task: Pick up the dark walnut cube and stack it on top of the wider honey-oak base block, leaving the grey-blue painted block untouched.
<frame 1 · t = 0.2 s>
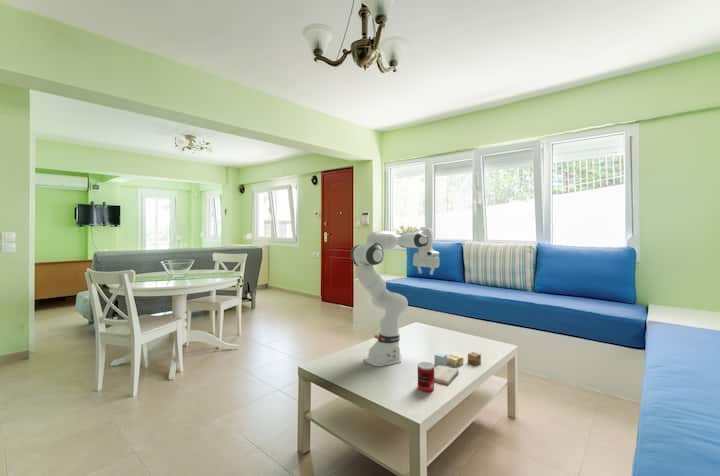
hand: (425, 273, 206), 48 cm above the table, fingers open, 8 cm apart
oak base block: (454, 363, 180), on the table
grey-blue block: (440, 365, 177), on the table
walnut block: (474, 362, 181), on the table
canned food: (425, 388, 150), on the table
washcloth: (443, 377, 163), on the table
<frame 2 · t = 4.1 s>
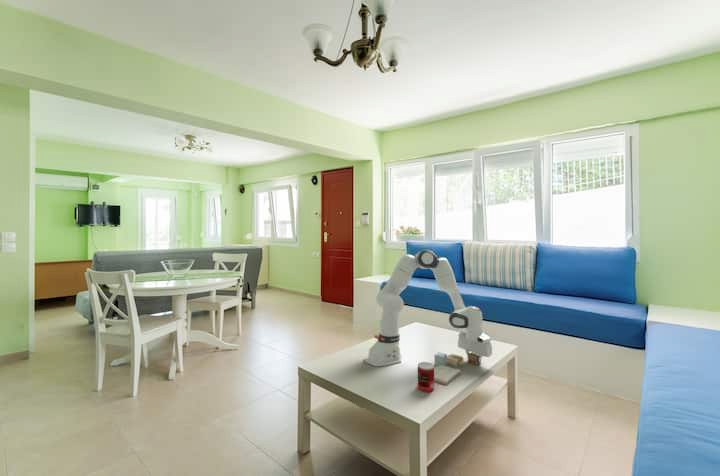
hand: (474, 359, 181), 2 cm above the table, fingers closed on walnut block, 5 cm apart
walnut block: (474, 362, 181), on the table, touching gripper
when the fingers open (7 cm above the table, at t = 8.9 s): walnut block drops 2 cm, resting on oak base block.
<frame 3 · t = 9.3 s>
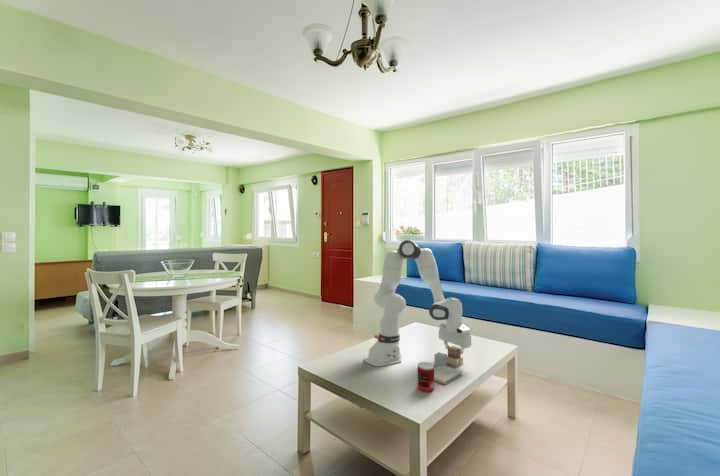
hand: (454, 351, 180), 7 cm above the table, fingers open, 8 cm apart
oak base block: (454, 363, 180), on the table, touching walnut block
walnut block: (454, 356, 180), point 4 cm above the table, touching oak base block
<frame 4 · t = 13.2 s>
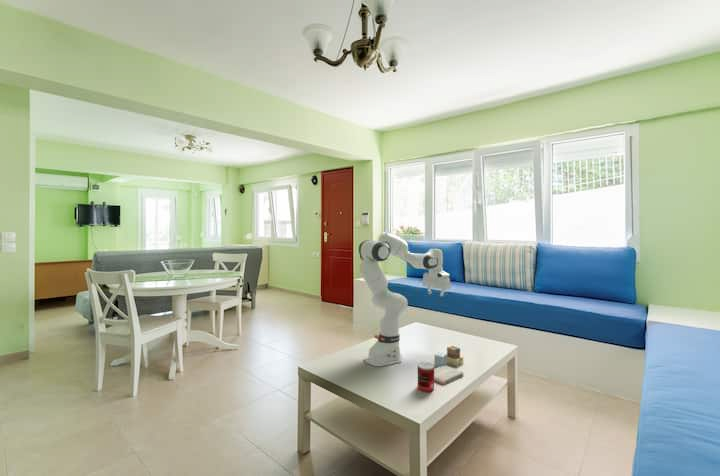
hand: (435, 294, 205), 34 cm above the table, fingers open, 8 cm apart
oak base block: (454, 363, 180), on the table
walnut block: (453, 356, 180), point 4 cm above the table
at the end: walnut block 0.6 cm off-centre on the oak base block, point 4.0 cm above the oak base block's base; walnut block tilted 0°; the gripper is holding nothing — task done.
